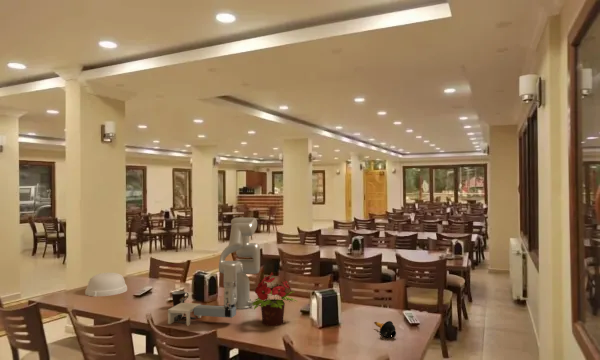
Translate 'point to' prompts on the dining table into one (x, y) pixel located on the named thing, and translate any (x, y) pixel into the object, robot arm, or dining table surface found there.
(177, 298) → the coffee mug
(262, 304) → the potted plant
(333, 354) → the dining table surface
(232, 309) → the grey rectangular block
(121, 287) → the dome cover
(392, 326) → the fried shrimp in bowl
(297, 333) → the dining table surface
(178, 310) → the low shelf
